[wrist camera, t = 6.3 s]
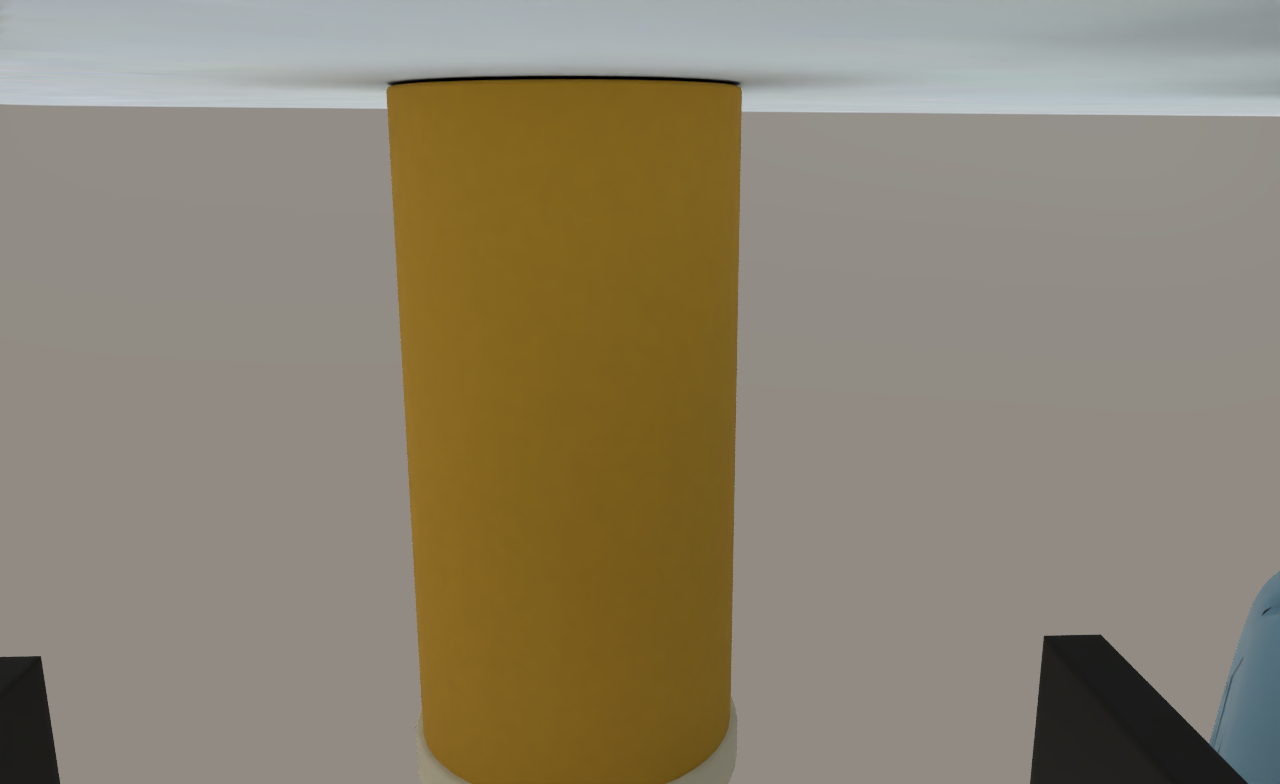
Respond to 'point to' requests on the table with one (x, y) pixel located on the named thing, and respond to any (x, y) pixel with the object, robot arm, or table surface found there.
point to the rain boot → (570, 424)
